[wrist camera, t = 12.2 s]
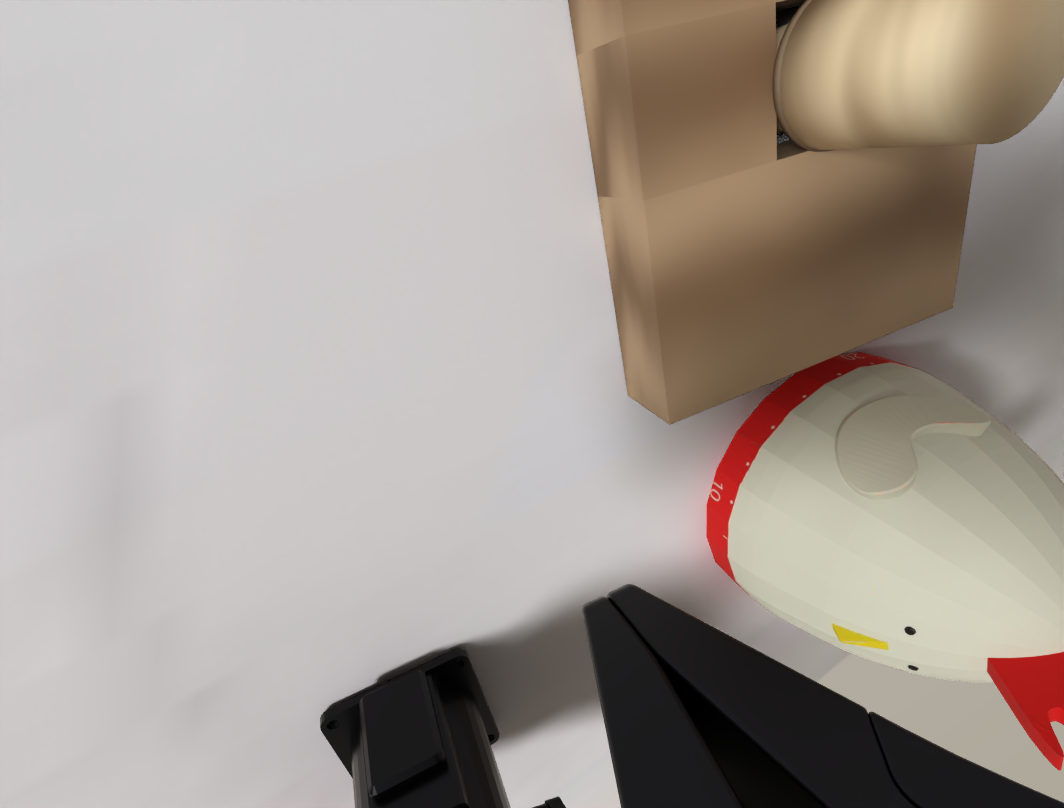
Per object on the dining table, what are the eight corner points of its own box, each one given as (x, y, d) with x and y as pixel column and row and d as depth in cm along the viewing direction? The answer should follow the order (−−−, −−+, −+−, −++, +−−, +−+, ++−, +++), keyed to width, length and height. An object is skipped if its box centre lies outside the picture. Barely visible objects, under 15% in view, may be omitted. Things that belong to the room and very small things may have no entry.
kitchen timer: (675, 448, 25) (1076, 753, 12) (907, 301, 27) (1474, 426, 14) (737, 626, 32) (1034, 942, 19) (918, 499, 33) (1303, 708, 20)
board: (887, 293, 26) (952, 307, 23) (628, 395, 23) (669, 424, 20) (928, -163, 18) (1030, -216, 16) (551, -107, 15) (602, -164, 13)
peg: (817, -4, 19) (1111, -103, 12) (814, 138, 21) (1062, 123, 14) (708, 19, 18) (960, -73, 11) (715, 167, 20) (932, 166, 13)
